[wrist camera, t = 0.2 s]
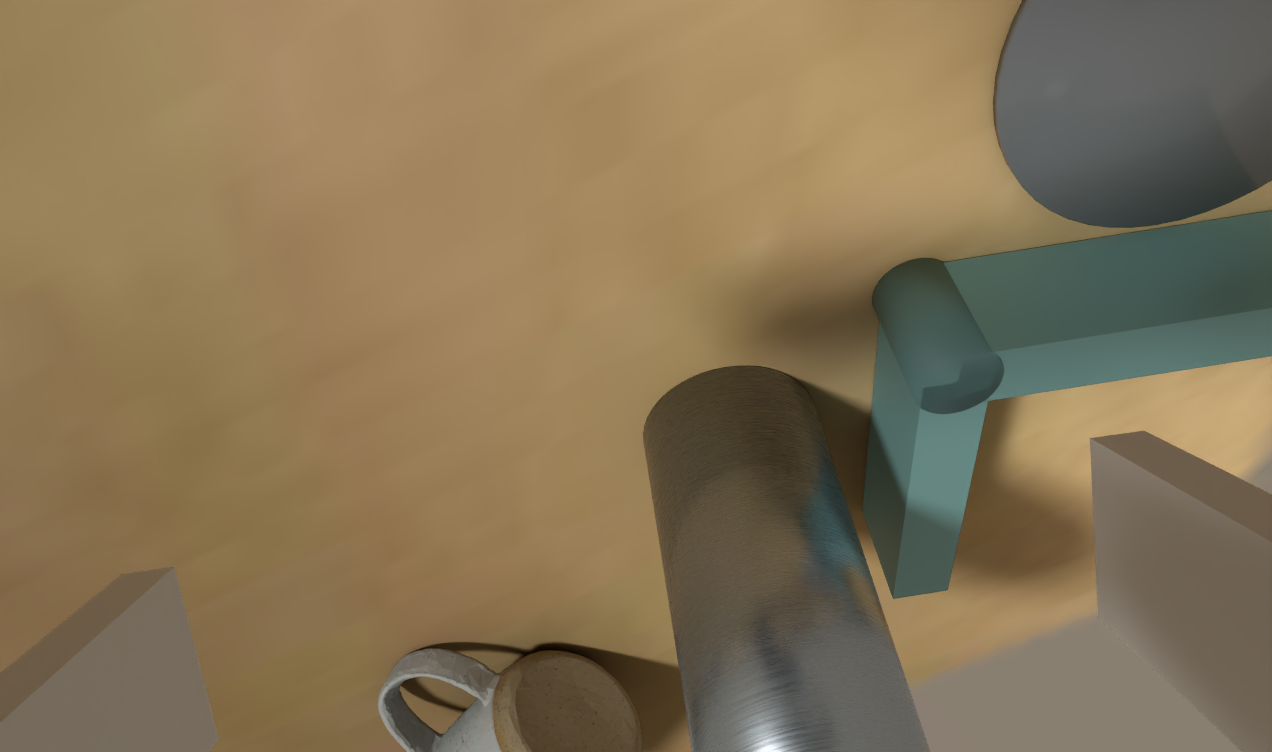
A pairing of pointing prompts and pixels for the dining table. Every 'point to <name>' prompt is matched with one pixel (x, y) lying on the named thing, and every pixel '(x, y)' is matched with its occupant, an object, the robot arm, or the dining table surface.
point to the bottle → (769, 575)
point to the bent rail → (1037, 356)
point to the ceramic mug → (517, 705)
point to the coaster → (1136, 106)
